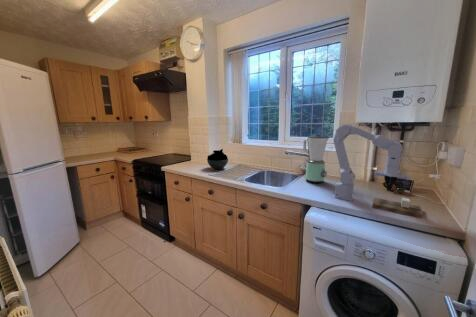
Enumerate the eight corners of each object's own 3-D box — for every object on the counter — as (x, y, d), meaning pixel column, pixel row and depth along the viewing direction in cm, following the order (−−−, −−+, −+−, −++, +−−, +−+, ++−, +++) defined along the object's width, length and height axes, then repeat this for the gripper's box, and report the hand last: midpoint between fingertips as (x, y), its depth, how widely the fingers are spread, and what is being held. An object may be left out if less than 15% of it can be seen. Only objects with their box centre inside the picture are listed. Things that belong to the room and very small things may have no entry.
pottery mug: (401, 190, 132) (408, 182, 127) (400, 200, 127) (407, 192, 121) (381, 183, 138) (386, 175, 132) (379, 192, 132) (384, 184, 127)
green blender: (329, 181, 150) (333, 135, 143) (321, 186, 141) (325, 136, 134) (305, 176, 163) (308, 134, 157) (297, 180, 154) (299, 135, 147)
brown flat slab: (372, 207, 107) (372, 203, 106) (373, 200, 115) (374, 197, 115) (422, 218, 95) (422, 214, 94) (419, 210, 103) (420, 206, 103)
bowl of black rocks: (212, 172, 178) (211, 152, 174) (204, 168, 195) (203, 149, 191) (231, 169, 187) (231, 150, 183) (223, 165, 204) (222, 147, 201)
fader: (401, 207, 101) (402, 200, 101) (401, 203, 105) (402, 197, 105) (408, 208, 100) (410, 202, 99) (408, 205, 104) (409, 198, 103)
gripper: (375, 165, 104) (371, 189, 107) (411, 169, 95) (406, 195, 98) (376, 162, 110) (372, 186, 112) (410, 166, 101) (406, 191, 104)
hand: (388, 190), depth 106 cm, fingers closed
